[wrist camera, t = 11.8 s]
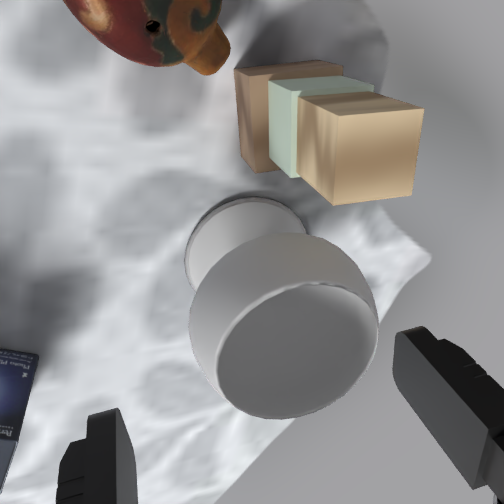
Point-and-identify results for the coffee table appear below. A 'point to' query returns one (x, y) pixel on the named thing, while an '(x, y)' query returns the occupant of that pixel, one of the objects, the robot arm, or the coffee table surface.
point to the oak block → (357, 146)
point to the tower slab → (267, 105)
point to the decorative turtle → (158, 30)
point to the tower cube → (285, 112)
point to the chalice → (276, 311)
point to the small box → (13, 402)
